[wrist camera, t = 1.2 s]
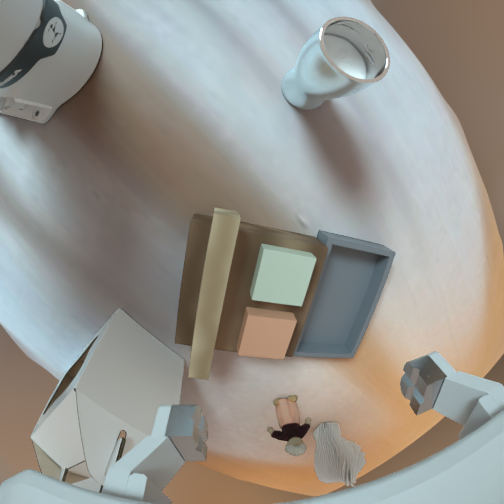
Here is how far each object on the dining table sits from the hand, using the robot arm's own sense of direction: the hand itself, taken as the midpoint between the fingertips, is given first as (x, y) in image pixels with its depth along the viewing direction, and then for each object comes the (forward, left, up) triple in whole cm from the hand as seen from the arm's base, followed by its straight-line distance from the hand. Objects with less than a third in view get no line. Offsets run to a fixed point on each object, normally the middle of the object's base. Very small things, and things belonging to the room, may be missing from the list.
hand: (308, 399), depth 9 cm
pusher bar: (-3, -7, -23) cm, 24 cm away
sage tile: (+5, -3, -23) cm, 23 cm away
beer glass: (+4, +20, -28) cm, 34 cm away
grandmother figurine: (+14, -30, -28) cm, 43 cm away
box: (+15, -7, -28) cm, 32 cm away
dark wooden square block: (+2, -7, -28) cm, 29 cm away
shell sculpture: (+27, -39, -28) cm, 55 cm away
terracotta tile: (+5, -11, -23) cm, 26 cm away
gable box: (-16, -27, -28) cm, 42 cm away
